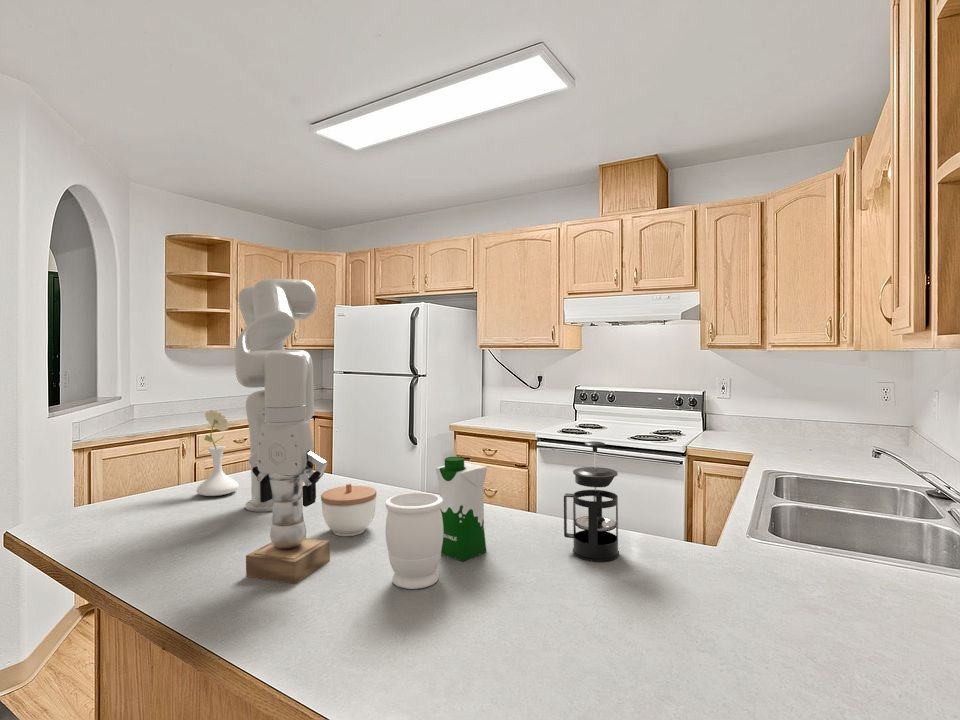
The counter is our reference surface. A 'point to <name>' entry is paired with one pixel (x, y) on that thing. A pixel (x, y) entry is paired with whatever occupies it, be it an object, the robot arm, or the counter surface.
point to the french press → (594, 514)
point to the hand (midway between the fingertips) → (287, 502)
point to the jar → (414, 538)
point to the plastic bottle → (287, 511)
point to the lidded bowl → (348, 509)
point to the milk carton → (462, 508)
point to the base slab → (288, 561)
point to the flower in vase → (217, 461)
